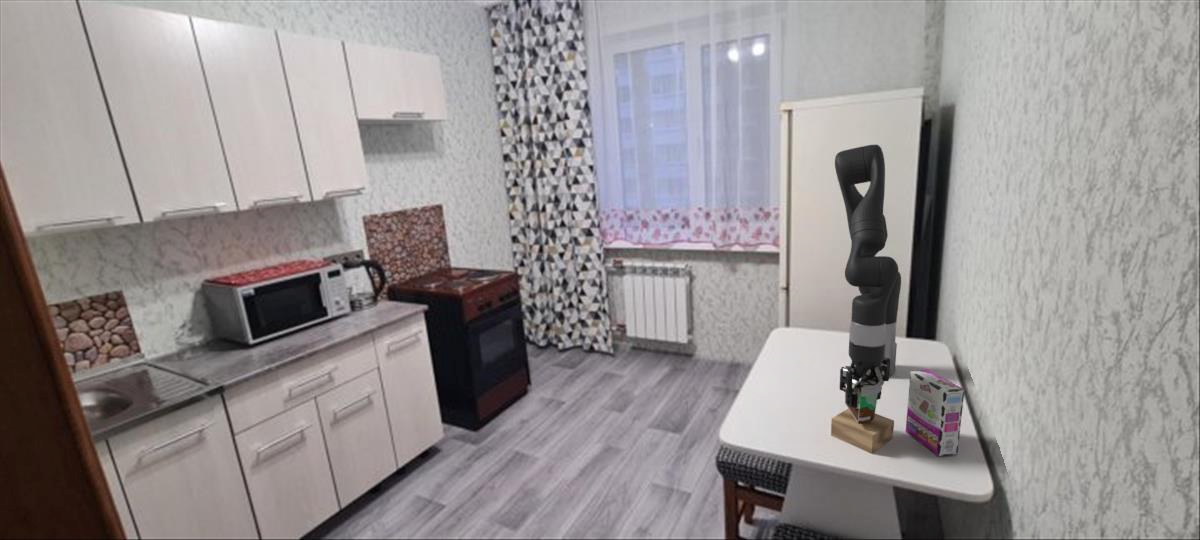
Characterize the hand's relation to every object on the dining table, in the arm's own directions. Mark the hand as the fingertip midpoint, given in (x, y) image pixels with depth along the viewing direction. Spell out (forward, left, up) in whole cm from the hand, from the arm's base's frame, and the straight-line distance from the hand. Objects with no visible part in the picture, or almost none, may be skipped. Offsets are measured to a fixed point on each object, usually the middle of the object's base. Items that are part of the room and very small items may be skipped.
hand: (863, 402), depth 118 cm
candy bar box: (-11, +9, -10) cm, 18 cm away
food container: (-1, 0, -3) cm, 3 cm away
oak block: (0, 0, -10) cm, 10 cm away
